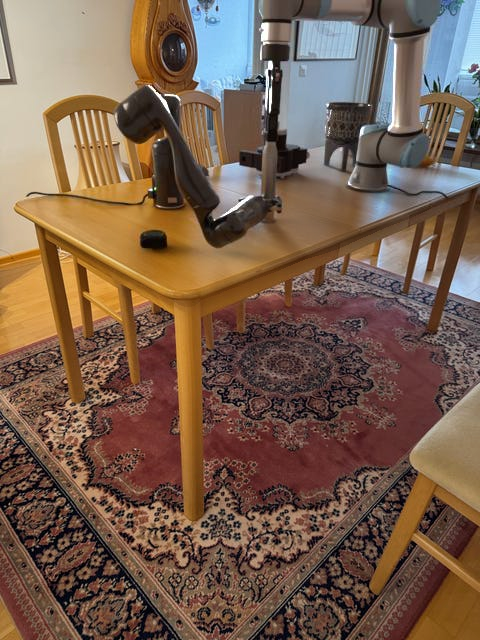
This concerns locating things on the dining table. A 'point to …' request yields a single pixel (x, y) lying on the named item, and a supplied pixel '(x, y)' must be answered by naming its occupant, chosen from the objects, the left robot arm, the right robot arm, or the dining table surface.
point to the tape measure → (153, 239)
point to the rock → (204, 170)
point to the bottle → (269, 175)
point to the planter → (345, 128)
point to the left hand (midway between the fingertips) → (270, 197)
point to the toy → (426, 162)
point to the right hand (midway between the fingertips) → (270, 140)
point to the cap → (266, 136)
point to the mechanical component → (286, 156)
